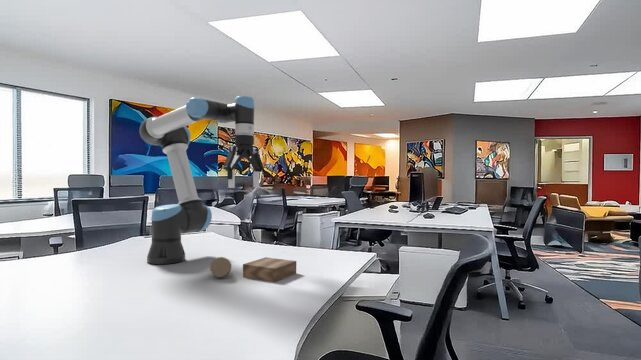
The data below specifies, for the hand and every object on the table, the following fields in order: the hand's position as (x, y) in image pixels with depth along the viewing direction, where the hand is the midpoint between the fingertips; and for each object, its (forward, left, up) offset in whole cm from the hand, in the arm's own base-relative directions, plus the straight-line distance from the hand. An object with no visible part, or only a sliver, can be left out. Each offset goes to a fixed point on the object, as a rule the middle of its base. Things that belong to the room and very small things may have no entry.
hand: (244, 187), depth 159 cm
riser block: (+19, -5, -32) cm, 38 cm away
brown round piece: (+4, -16, -32) cm, 36 cm away
